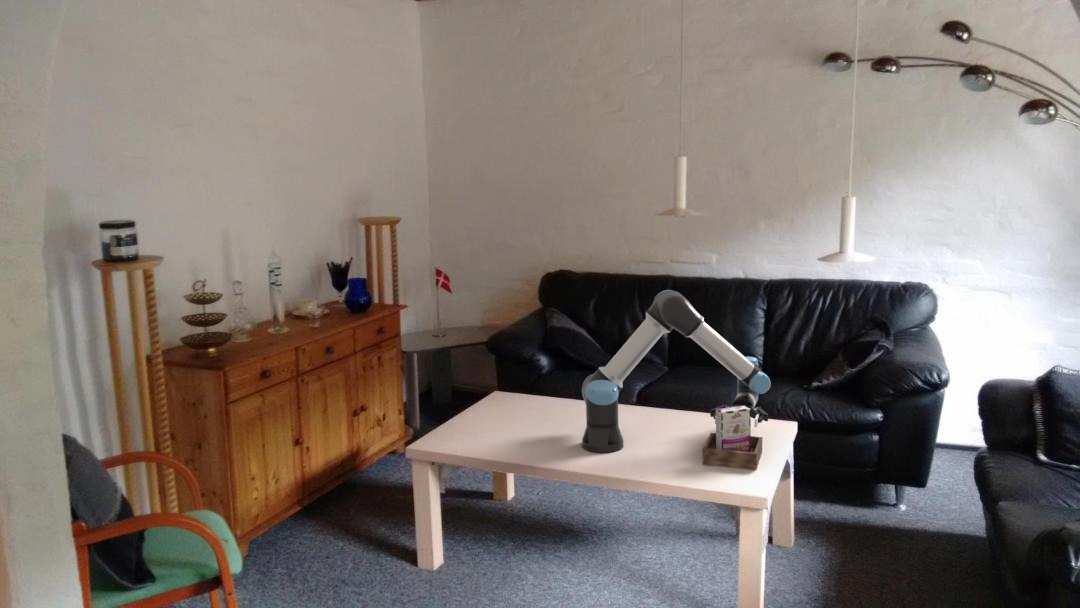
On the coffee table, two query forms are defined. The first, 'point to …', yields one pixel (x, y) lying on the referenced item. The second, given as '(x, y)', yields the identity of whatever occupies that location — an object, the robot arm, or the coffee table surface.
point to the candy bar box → (733, 429)
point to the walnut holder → (732, 454)
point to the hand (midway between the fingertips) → (735, 421)
